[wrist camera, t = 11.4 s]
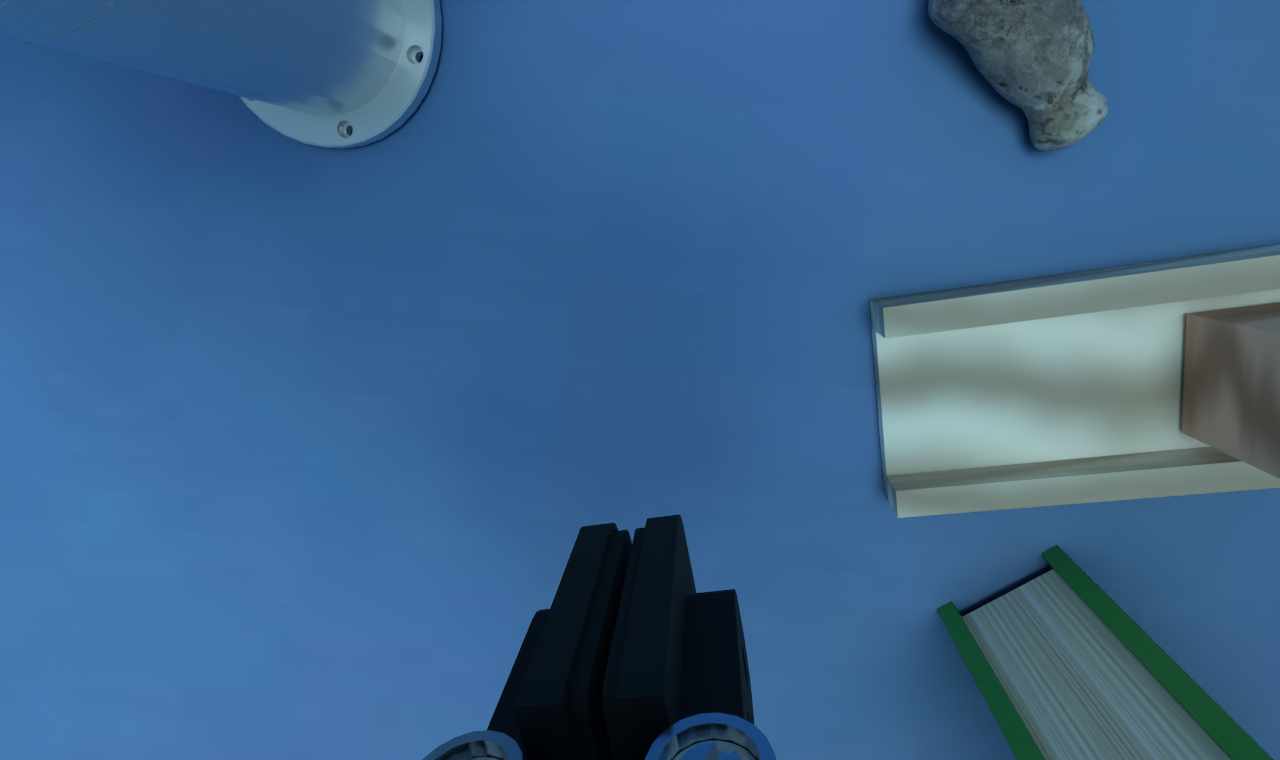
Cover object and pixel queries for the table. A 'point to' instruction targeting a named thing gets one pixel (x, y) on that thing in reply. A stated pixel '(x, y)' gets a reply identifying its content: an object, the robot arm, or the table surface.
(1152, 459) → the chute
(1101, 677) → the hardback book
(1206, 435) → the block
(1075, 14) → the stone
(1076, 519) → the table surface
